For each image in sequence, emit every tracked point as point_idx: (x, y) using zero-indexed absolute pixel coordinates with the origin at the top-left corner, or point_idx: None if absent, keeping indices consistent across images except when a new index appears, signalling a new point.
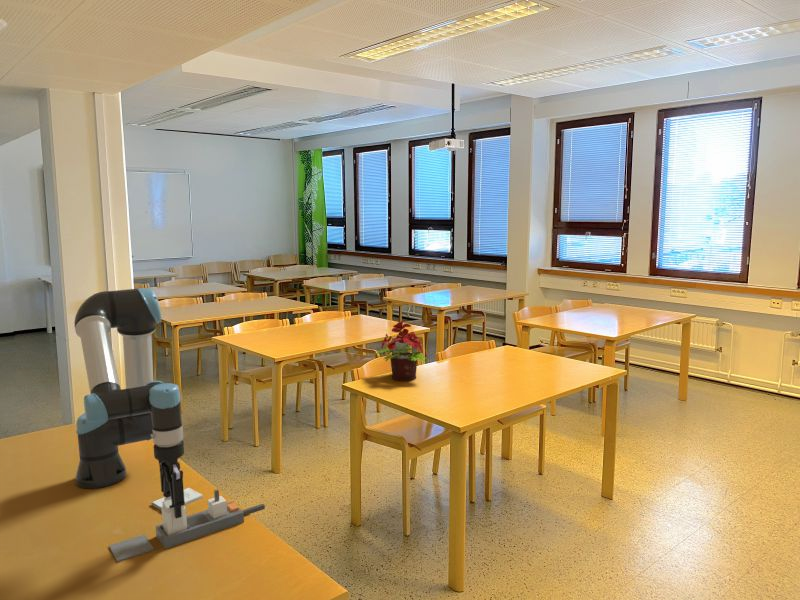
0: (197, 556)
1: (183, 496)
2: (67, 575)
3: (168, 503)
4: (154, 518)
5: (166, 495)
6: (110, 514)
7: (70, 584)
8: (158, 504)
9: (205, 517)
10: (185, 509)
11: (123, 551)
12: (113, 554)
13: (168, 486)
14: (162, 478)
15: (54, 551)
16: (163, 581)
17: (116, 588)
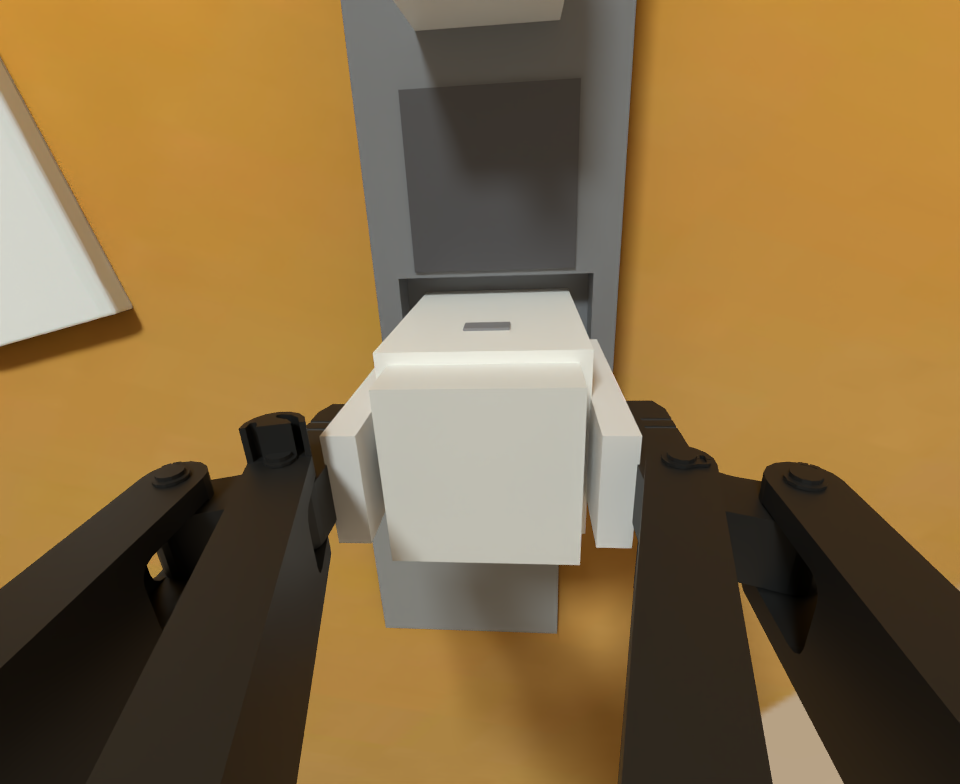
0: (841, 296)
1: (936, 580)
2: (524, 759)
3: (477, 527)
4: (177, 383)
5: (325, 535)
6: (40, 549)
7: (600, 764)
8: (12, 330)
9: (494, 92)
10: (590, 348)
11: (487, 596)
12: (478, 627)
13: (301, 624)
14: (87, 760)
15: (304, 755)
16: (917, 522)
17: (776, 672)
